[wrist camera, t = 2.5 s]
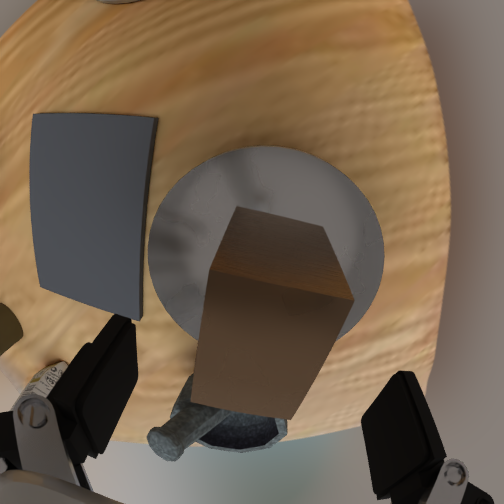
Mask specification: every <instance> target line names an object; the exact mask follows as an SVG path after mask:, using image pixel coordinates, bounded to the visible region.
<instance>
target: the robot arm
mask: <svg viewBox="0 0 504 504" xmlns="http://www.w3.org/2000/svg"><path fill="white" fill-rule="evenodd" d="M97 1H100V2H102V3H110V4H119V3H129V2H134V1H138V0H97ZM137 380H138V363H137V346H136V326H135V324H133V323H132V321H131V319H130V318H128V317H124V316H121V315H118V314H114V315H113V316H112V317H111V319H110V320H109V321H108V322H107V324H106V325H105V326H104V328H103V329H102V330H101V332H100V333H99V334H98V336H97V337H96V338H95V340H94V341H93V342H92V343H89V342H88V343H86V344H85V345H84V346H83V347H82V348H81V349H80V351H79V352H78V353H77V355H76V356H75V357H74V359H73V360H72V362H71V363H70V364H69V366H68V367H67V368H66V370H65V371H64V373H63V374H62V375H61V377H60V378H59V380H58V381H57V382H56V384H55V385H54V387H53V388H52V390H51V391H50V393H49V394H48V396H47V397H46V398H45V397H43V396H41V395H37V394H29V395H26V396H23V397H22V398H20V399H19V400H18V401H17V402H16V404H15V406H14V409H13V411H8V412H2V413H0V504H124V503H121V502H118V501H115V500H113V499H110V498H108V497H105V496H103V495H100V494H98V493H95V492H94V491H93V489H92V487H91V484H90V482H89V479H88V477H87V474H86V472H85V469H84V466H83V463H84V462H85V460H86V457H87V455H88V456H91V457H93V458H95V459H96V457H97V456H98V453H100V454H103V453H104V451H105V449H106V447H107V445H108V442H109V440H110V438H111V436H112V434H113V432H114V429H115V427H116V425H117V423H118V421H119V419H120V417H121V414H122V412H123V410H124V408H125V406H126V404H127V402H128V400H129V398H130V395H131V393H132V391H133V389H134V387H135V385H136V383H137ZM361 425H362V430H363V435H364V440H365V446H366V451H367V456H368V462H369V468H370V474H371V480H372V487H373V492H374V493H375V494H376V495H377V500H381V499H387V498H390V497H391V504H494V501H493V499H492V497H491V496H490V495H488V494H487V493H486V492H484V491H482V490H481V489H479V488H478V487H476V486H474V485H473V484H471V483H470V482H468V478H469V474H468V470H467V467H466V466H465V465H464V463H463V462H461V461H460V460H458V459H449V460H447V461H446V462H444V458H445V457H447V456H446V453H445V450H444V447H443V444H442V441H441V439H440V436H439V433H438V430H437V427H436V425H435V422H434V420H433V417H432V414H431V412H430V409H429V407H428V404H427V402H426V399H425V397H424V395H423V392H422V390H421V387H420V385H419V383H418V380H417V378H416V376H415V374H414V372H412V371H398V372H397V373H396V374H394V375H393V376H392V377H391V378H390V380H389V381H388V383H387V384H386V385H385V387H384V388H383V390H382V391H381V392H380V394H379V395H378V396H377V398H376V399H375V400H374V402H373V403H372V404H371V406H370V407H369V408H368V409H367V411H366V412H365V413H364V415H363V416H362V419H361Z"/></svg>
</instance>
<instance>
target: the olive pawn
mask: <svg viewBox="0 0 504 504" xmlns="http://www.w3.org/2000/svg"><path fill="white" fill-rule="evenodd" d="M22 336H23V330H22V327H21V325H20V323H19V321H18V319H17V318H16V316H15V315H14V313H13V312H12V311H11V310H10V309H9V308H8V307H7V306H6V305H4V304H2V303H0V356H1V355H2V354H3V353H4V352H5V351H7V350H8V349H9V348H10V347H11V346H13V345H14V344H15V343H16V342H17V341H19V340H20V339H21V338H22Z"/></svg>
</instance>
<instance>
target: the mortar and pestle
mask: <svg viewBox="0 0 504 504" xmlns="http://www.w3.org/2000/svg"><path fill="white" fill-rule="evenodd" d="M193 377H194V373H193V374H192V375H191V376H189V378H188V379H187V381H186V383H185V385H184V387H183V389H182V391H181V392H180V394H179V396H178V398H177V400H176V402H175V404H174V406H173V409H172V412H171V415H170V418H171V419H170V420H169V421H168V422H166V423H165V424H164V425H163V426H161V427H154V428H152V429H151V430H150V431H149V433H148V435H147V440H148V443H149V446H150V447H151V448H152V450H153V451H154V452H155V453H156V454H157V455H158V456H160V457H161V458H163V459H164V460H166V461H176V460H178V459H179V458H180V456H181V455H182V454H183V452H184V449H186V448H187V447H189V446H190V445H191V444H193V443H194V442H197V443H199V444H202V445H204V446H206V447H208V448H212V449H218V450H224V451H232V452H240V453H243V452H249V451H255V450H260V449H266V448H271V447H272V446H273V445H274V444H276V443H277V442H278V441H280V440H281V439H282V438H283V437H285V436H286V435H287V419H280V418H272V417H265V416H258V415H252V414H246V413H240V412H235V411H230V410H225V409H220V408H215V407H211V406H206V405H202V404H198V403H193V402H190V401H191V393H192V385H193Z"/></svg>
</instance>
